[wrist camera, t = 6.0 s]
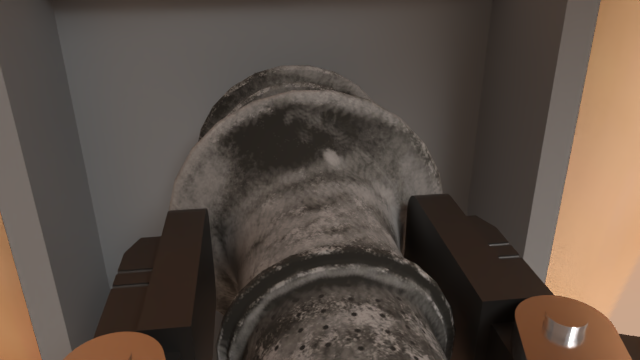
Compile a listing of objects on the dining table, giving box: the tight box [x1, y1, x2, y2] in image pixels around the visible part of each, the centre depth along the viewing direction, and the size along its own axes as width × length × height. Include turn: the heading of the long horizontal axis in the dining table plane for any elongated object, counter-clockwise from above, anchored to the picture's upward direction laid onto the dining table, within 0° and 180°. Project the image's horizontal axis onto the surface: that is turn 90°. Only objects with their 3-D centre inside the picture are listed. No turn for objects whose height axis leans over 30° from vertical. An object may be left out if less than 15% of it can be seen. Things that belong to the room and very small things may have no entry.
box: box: [0, 0, 601, 360], centre depth 16 cm, size 12×14×4 cm
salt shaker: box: [169, 65, 456, 360], centre depth 9 cm, size 6×6×12 cm
